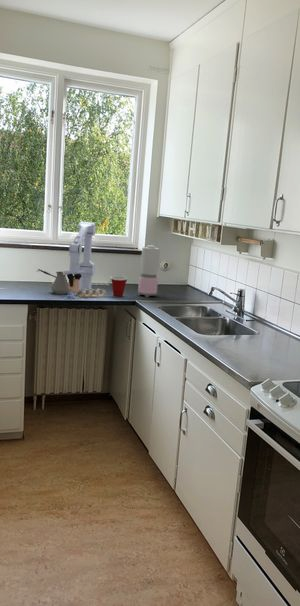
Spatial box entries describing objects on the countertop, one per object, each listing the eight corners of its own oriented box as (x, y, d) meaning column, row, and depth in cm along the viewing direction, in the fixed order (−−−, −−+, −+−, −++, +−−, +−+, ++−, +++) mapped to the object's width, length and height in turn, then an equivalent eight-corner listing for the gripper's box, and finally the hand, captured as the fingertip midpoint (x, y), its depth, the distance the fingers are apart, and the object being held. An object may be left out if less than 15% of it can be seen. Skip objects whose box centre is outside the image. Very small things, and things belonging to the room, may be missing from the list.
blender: (149, 298, 319) (153, 247, 313) (133, 294, 326) (137, 244, 319) (162, 295, 332) (167, 246, 326) (147, 292, 339) (151, 244, 332)
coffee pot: (65, 291, 319) (66, 267, 316) (73, 294, 310) (74, 270, 307) (32, 292, 307) (33, 267, 304) (40, 295, 298) (41, 270, 295)
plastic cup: (105, 295, 315) (107, 276, 313) (114, 293, 325) (116, 275, 322) (120, 298, 310) (122, 279, 308) (129, 296, 320) (131, 277, 318)
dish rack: (74, 294, 310) (74, 288, 309) (97, 293, 321) (98, 287, 320) (83, 298, 302) (83, 292, 301) (107, 296, 312) (107, 291, 311)
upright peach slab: (68, 289, 305) (68, 277, 304) (71, 288, 307) (72, 277, 305) (74, 291, 299) (75, 279, 298) (78, 291, 300) (79, 279, 299)
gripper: (67, 264, 292) (66, 288, 295) (88, 264, 301) (87, 287, 304) (61, 263, 297) (60, 286, 300) (82, 262, 306) (81, 285, 309)
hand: (73, 286), depth 302 cm, fingers closed on upright peach slab, 2 cm apart
